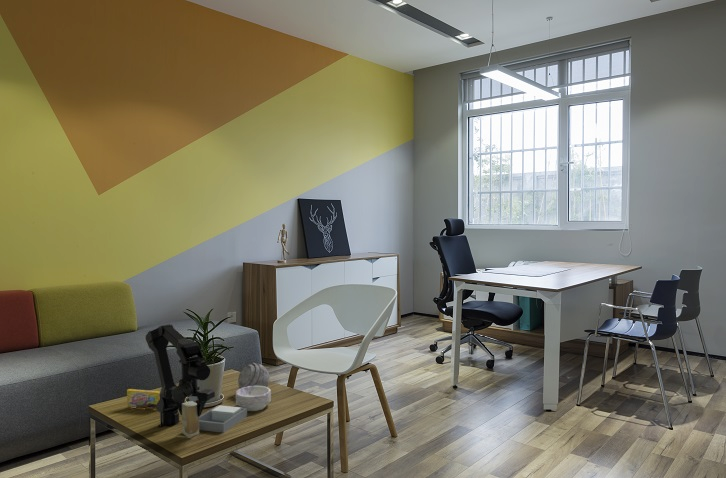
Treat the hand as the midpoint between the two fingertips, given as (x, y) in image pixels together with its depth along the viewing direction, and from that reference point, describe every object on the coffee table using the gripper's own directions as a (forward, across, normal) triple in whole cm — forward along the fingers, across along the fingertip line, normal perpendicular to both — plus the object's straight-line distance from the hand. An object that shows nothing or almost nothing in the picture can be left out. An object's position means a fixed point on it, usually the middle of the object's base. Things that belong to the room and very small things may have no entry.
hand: (190, 415), depth 203 cm
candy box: (+8, -38, +20) cm, 44 cm away
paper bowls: (+8, +9, +33) cm, 35 cm away
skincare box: (+8, 0, 0) cm, 8 cm away
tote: (+8, +5, +13) cm, 16 cm away
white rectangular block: (+7, +5, +18) cm, 19 cm away
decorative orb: (+8, 0, +50) cm, 51 cm away
